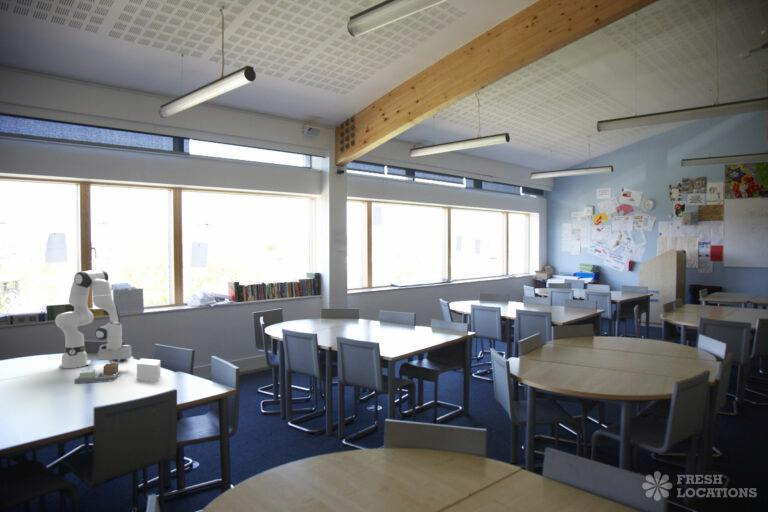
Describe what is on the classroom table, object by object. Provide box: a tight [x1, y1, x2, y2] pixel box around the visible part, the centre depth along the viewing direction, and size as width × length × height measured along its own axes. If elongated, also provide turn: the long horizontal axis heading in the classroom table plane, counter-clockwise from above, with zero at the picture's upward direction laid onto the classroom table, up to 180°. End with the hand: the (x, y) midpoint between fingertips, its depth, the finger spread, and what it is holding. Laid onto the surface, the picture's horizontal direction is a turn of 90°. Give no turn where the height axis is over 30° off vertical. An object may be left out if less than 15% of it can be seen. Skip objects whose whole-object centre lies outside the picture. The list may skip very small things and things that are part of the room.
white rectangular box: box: [136, 357, 161, 382], centre depth 304 cm, size 14×29×10 cm, turn 46°
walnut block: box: [102, 361, 119, 376], centre depth 316 cm, size 15×7×6 cm, turn 18°
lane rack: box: [74, 371, 120, 384], centre depth 300 cm, size 15×22×2 cm
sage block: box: [79, 368, 96, 379], centre depth 296 cm, size 8×7×6 cm
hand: (114, 365), depth 323 cm, fingers closed on walnut block
